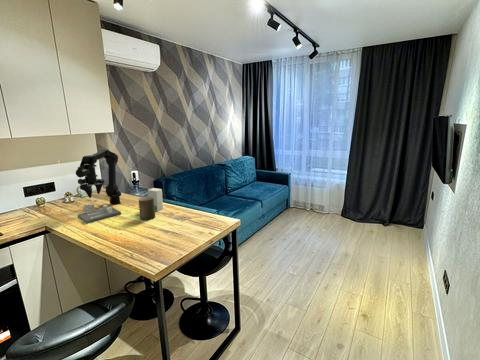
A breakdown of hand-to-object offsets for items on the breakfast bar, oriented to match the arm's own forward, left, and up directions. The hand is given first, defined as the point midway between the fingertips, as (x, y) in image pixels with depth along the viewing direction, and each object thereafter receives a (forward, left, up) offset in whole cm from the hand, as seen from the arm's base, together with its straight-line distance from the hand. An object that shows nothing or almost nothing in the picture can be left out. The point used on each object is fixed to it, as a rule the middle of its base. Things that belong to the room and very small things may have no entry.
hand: (94, 195), depth 183 cm
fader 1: (-4, +5, -11) cm, 13 cm away
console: (+1, +7, -13) cm, 15 cm away
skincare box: (-32, +26, -13) cm, 43 cm away
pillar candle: (-20, +36, -13) cm, 43 cm away
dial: (+5, 0, -11) cm, 12 cm away
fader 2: (-4, +12, -11) cm, 17 cm away
